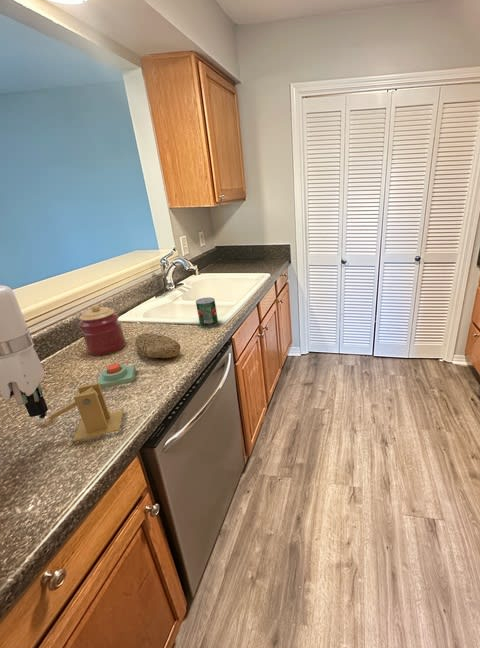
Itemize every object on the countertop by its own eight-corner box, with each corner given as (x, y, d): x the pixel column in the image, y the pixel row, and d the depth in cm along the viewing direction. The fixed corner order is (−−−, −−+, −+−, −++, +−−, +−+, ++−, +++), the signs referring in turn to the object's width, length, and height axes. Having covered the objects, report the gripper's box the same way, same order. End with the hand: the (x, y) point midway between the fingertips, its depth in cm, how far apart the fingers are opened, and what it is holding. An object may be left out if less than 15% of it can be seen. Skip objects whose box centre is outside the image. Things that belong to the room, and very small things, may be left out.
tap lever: (41, 434, 76) (29, 424, 74) (46, 424, 79) (34, 415, 77) (97, 401, 78) (87, 391, 76) (100, 393, 81) (90, 383, 79)
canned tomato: (196, 324, 142) (192, 300, 138) (212, 319, 147) (209, 296, 143) (205, 329, 137) (200, 304, 132) (221, 323, 142) (218, 300, 137)
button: (107, 375, 99) (105, 370, 98) (109, 369, 102) (107, 364, 102) (120, 372, 100) (118, 367, 100) (121, 367, 103) (120, 362, 103)
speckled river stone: (134, 353, 122) (142, 364, 106) (132, 332, 121) (140, 340, 105) (170, 348, 129) (183, 358, 113) (169, 329, 128) (182, 336, 112)
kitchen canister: (101, 359, 117) (86, 313, 110) (81, 351, 123) (66, 308, 116) (133, 344, 127) (121, 301, 120) (114, 337, 133) (101, 297, 126)
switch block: (97, 391, 98) (93, 380, 96) (102, 378, 105) (98, 367, 103) (133, 383, 101) (130, 372, 99) (136, 371, 108) (133, 360, 106)
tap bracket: (74, 444, 77) (57, 404, 73) (82, 423, 84) (67, 385, 80) (120, 432, 80) (107, 393, 76) (124, 413, 87) (112, 376, 83)
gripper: (4, 333, 74) (32, 399, 81) (-32, 363, 61) (6, 439, 68) (42, 327, 76) (66, 392, 84) (16, 356, 63) (47, 429, 71)
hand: (39, 413), depth 76 cm, fingers closed
